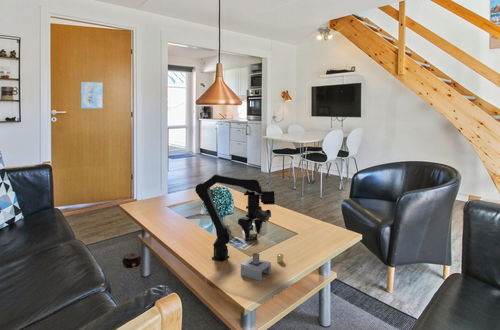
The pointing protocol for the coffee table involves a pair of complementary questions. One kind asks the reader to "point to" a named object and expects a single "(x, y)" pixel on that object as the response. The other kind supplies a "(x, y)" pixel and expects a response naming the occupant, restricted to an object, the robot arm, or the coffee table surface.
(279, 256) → the short pin
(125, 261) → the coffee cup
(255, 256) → the long pin
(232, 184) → the robot arm
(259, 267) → the frame
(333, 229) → the coffee table surface
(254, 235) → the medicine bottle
